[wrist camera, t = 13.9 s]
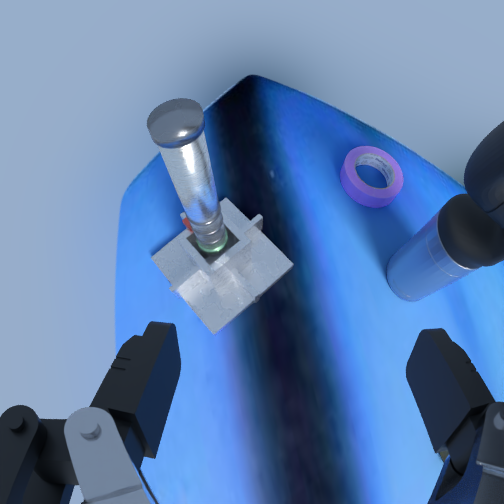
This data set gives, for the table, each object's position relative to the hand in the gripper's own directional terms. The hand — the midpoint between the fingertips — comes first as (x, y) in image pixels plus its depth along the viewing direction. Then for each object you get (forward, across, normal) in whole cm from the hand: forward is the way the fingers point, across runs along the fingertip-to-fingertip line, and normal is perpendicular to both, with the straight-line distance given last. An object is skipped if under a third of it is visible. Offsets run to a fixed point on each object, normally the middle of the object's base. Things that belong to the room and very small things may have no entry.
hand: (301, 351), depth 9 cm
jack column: (+30, +8, +9) cm, 33 cm away
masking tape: (+49, -18, +3) cm, 53 cm away
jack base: (+36, +8, +15) cm, 40 cm away
